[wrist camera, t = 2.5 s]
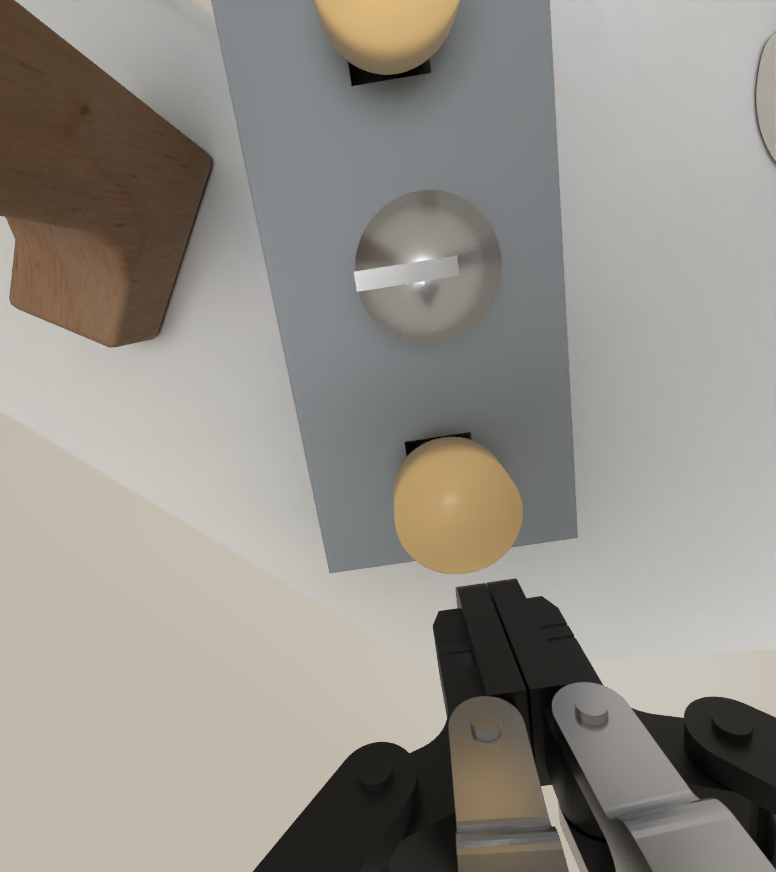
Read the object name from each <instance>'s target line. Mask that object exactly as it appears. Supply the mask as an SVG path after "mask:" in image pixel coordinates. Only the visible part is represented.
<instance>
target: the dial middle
mask: <svg viewBox="0 0 776 872" xmlns="http://www.w3.org/2000/svg"><path fill="white" fill-rule="evenodd" d="M501 274H502V257H501V250H500V246H499V243H498V239H497V237H496V234H495V232H494V230H493V228H492V226H491V225H490V223H489V221H488V220H487V219H486V217H485V216H484V215H483V214H482V213H481V212H480V211H479V210H478V209H477V208H476V207H475V206H474V205H473V204H471V203H470V202H468V201H467V200H465V199H463V198H461V197H460V196H458V195H455V194H452V193H449V192H445V191H440V190H421V191H415V192H411V193H407V194H405V195H402V196H400V197H398V198H396V199H394V200H393V201H391V202H389V203H388V204H387V205H385V206H384V207H383V208H382V209H381V210H380V211H379V212H378V213H377V214H375V216H374V217H373V218H372V219H371V221H370V222H369V223H368V225H367V227H366V228H365V230H364V232H363V234H362V236H361V239H360V241H359V244H358V248H357V251H356V258H355V272H354V277H355V283H356V289H357V292H358V294H359V296H360V299H361V302H362V304H363V305H364V307H365V309H366V311H367V312H368V314H369V315H370V317H371V318H372V319H373V320H374V321H375V322H376V324H377V325H378V326H380V327H381V328H382V329H383V330H384V331H386V332H387V333H389V334H390V335H392V336H394V337H396V338H398V339H400V340H402V341H406V342H409V343H413V344H419V345H433V344H440V343H445V342H448V341H451V340H454V339H456V338H458V337H460V336H462V335H464V334H465V333H467V332H468V331H470V330H471V329H472V328H474V327H475V326H476V325H477V324H478V323H479V322H480V321H481V320H482V319H483V317H484V316H485V315H486V314H487V312H488V311H489V309H490V308H491V306H492V304H493V302H494V300H495V298H496V295H497V292H498V289H499V285H500V281H501Z"/></svg>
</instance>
